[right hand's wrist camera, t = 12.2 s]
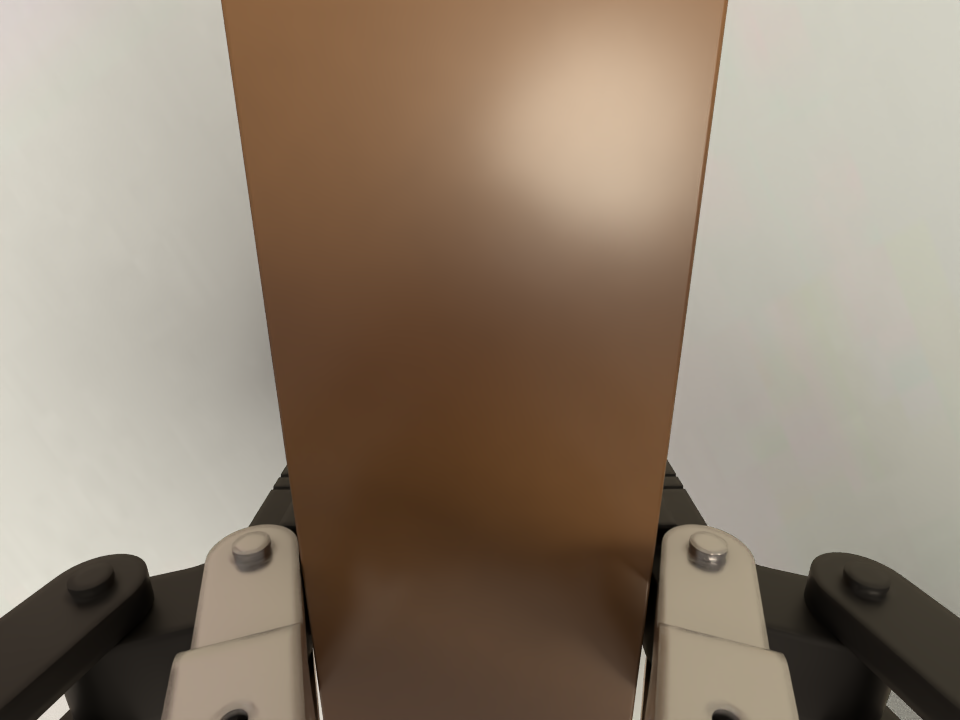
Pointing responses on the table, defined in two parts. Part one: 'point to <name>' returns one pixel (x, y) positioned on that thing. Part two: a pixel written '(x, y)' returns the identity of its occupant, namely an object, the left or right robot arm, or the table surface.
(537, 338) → the bar
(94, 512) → the table surface
